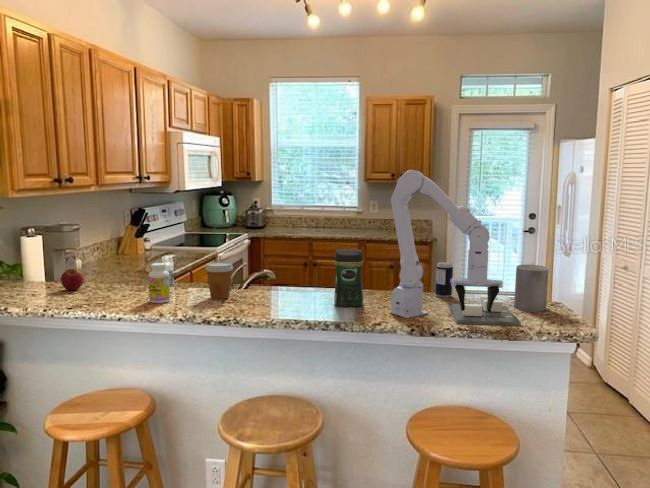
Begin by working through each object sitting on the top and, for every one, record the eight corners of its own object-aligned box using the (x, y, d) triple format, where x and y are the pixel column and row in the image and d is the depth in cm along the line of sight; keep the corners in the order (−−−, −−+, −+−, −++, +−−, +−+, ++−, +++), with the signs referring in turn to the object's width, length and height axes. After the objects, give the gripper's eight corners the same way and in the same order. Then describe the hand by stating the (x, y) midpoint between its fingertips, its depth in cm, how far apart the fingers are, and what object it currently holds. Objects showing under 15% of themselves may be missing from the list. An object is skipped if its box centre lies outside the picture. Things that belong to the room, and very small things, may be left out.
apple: (56, 292, 178) (54, 270, 177) (71, 287, 186) (69, 266, 185) (75, 293, 176) (73, 271, 175) (89, 288, 184) (88, 267, 183)
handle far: (480, 306, 157) (481, 297, 157) (479, 304, 160) (479, 295, 159) (497, 306, 157) (497, 297, 156) (495, 304, 159) (495, 295, 159)
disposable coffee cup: (239, 296, 173) (238, 263, 171) (220, 302, 165) (219, 267, 163) (219, 293, 178) (219, 260, 176) (200, 298, 170) (199, 264, 168)
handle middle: (484, 311, 151) (485, 301, 151) (483, 309, 154) (483, 299, 153) (501, 311, 151) (502, 302, 150) (499, 309, 153) (500, 300, 153)
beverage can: (452, 298, 172) (453, 264, 171) (435, 297, 174) (436, 264, 172) (451, 294, 178) (452, 262, 176) (435, 294, 179) (436, 261, 178)
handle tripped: (464, 315, 146) (465, 305, 146) (463, 313, 149) (463, 303, 148) (481, 316, 146) (482, 306, 145) (480, 314, 148) (480, 304, 148)
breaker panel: (456, 323, 143) (456, 319, 142) (447, 306, 161) (448, 303, 161) (520, 325, 141) (520, 322, 140) (504, 308, 159) (504, 305, 159)
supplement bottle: (145, 302, 164) (143, 264, 162) (158, 298, 170) (157, 261, 168) (161, 304, 161) (159, 266, 160) (174, 300, 167) (173, 263, 166)
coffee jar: (362, 301, 167) (363, 247, 164) (363, 308, 159) (364, 251, 156) (333, 301, 167) (334, 247, 165) (333, 307, 159) (334, 251, 157)
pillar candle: (519, 303, 167) (521, 259, 165) (550, 307, 161) (552, 262, 158) (509, 309, 159) (511, 263, 157) (541, 314, 153) (543, 267, 151)
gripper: (454, 267, 142) (452, 312, 144) (506, 268, 140) (503, 314, 142) (451, 263, 149) (449, 306, 151) (500, 264, 147) (498, 308, 149)
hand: (475, 310), depth 147 cm, fingers open, 7 cm apart
